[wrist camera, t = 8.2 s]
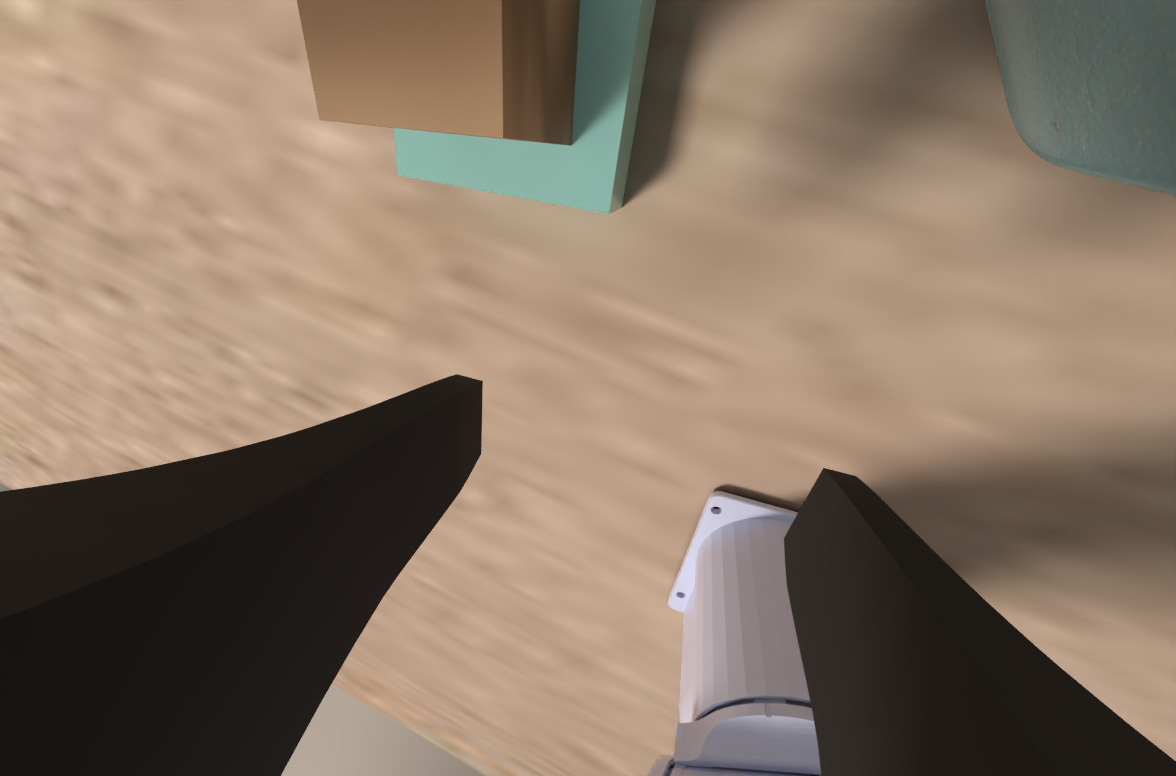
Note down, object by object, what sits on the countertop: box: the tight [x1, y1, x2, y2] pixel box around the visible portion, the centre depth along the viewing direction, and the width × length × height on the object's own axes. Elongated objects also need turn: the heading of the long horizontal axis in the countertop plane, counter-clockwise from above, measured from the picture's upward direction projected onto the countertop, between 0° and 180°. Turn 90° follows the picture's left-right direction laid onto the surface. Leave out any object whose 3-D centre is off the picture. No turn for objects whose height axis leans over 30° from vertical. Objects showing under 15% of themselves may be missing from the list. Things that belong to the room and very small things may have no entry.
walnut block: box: [297, 0, 580, 146], centre depth 11 cm, size 4×4×6 cm
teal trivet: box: [394, 0, 656, 214], centre depth 14 cm, size 8×8×3 cm
